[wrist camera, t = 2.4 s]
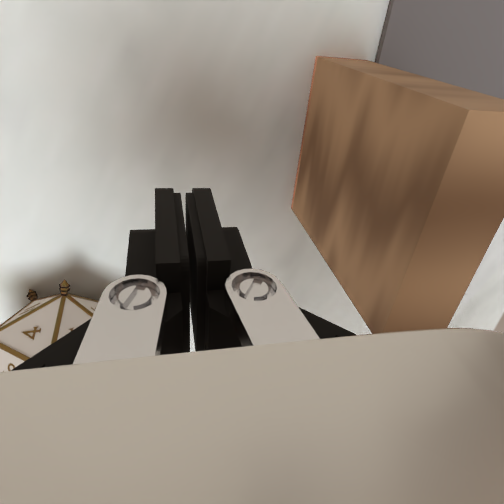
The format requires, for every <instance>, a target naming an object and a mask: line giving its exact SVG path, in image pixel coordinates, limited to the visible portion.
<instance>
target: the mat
mask: <svg viewBox="0 0 504 504" xmlns="http://www.w3.org/2000/svg"><path fill="white" fill-rule="evenodd" d="M375 63H378V64H382V65H385V66H389V67H392V68H396V69H399V70H403V71H406V72H410V73H413V74H417V75H420V76H424V77H427V78H431V79H434V80H437V81H441V82H444V83H448V84H451V85H455V86H458V87H462V88H465V89H469V90H472V91H476V92H479V93H483V94H486V95H490V96H493V97H497V98H500V99H504V0H390V3H389V7H388V11H387V15H386V19H385V24H384V28H383V32H382V36H381V40H380V44H379V48H378V53H377V57H376V61H375Z"/></svg>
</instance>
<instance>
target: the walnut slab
mask: <svg viewBox="0 0 504 504" xmlns="http://www.w3.org/2000/svg"><path fill="white" fill-rule="evenodd" d="M291 209H292V210H293V212H294V213H295V215H296V216H297V218H298V220H299V221H300V223H301V224H302V226H303V227H304V229H305V230H306V232H307V233H308V235H309V237H310V238H311V240H312V241H313V243H314V244H315V246H316V247H317V249H318V250H319V252H320V253H321V255H322V257H323V258H324V260H325V261H326V263H327V264H328V266H329V267H330V269H331V270H332V272H333V274H334V275H335V277H336V278H337V280H338V281H339V283H340V284H341V286H342V287H343V289H344V290H345V292H346V294H347V295H348V297H349V298H350V300H351V301H352V303H353V304H354V306H355V307H356V309H357V311H358V312H359V314H360V315H361V317H362V318H363V320H364V321H365V323H366V324H367V326H368V328H369V329H370V331H371V332H372V334H377V333H387V332H397V331H409V330H425V329H441V328H447V327H448V325H449V323H450V321H451V319H452V317H453V315H454V313H455V311H456V309H457V307H458V305H459V303H460V301H461V300H462V298H463V296H464V294H465V292H466V290H467V288H468V286H469V284H470V282H471V280H472V278H473V276H474V274H475V272H476V270H477V268H478V267H479V265H480V263H481V261H482V259H483V257H484V255H485V253H486V251H487V249H488V247H489V245H490V243H491V241H492V239H493V237H494V235H495V233H496V232H497V230H498V228H499V226H500V224H501V222H502V220H503V218H504V99H500V98H497V97H493V96H490V95H486V94H483V93H479V92H476V91H472V90H469V89H465V88H462V87H458V86H455V85H451V84H448V83H444V82H441V81H437V80H434V79H431V78H427V77H424V76H420V75H417V74H413V73H410V72H406V71H403V70H399V69H396V68H392V67H389V66H385V65H382V64H378V63H375V62H371V61H368V60H358V59H346V58H334V57H322V56H316V58H315V64H314V70H313V76H312V83H311V89H310V95H309V101H308V107H307V113H306V119H305V125H304V132H303V138H302V144H301V150H300V156H299V162H298V168H297V175H296V181H295V187H294V193H293V199H292V205H291Z"/></svg>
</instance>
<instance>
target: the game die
mask: <svg viewBox="0 0 504 504" xmlns="http://www.w3.org/2000/svg"><path fill="white" fill-rule="evenodd" d="M59 286H60V288H59V290H60V292H61V294H57V295H52V296H48V297H44V298H39V299H37V298H38V297H37V294H36V291H32V290H29V292H28V295H27V297H28V299H29V300H31V301H32V302H30V303H29V304H28V305H26V306H25V307H24V308H22V309H21V310H20V311H18V312H17V313H16V314H14V315H13V316H12V317H10V318H9V319H8V320H6V321H5V322H4V323H2V324H1V325H0V372H6V371H11V370H12V369H14V368H15V367H17V366H18V365H20V364H21V363H23V362H24V361H26V360H28V359H29V358H31V357H32V356H34V355H35V354H37V353H38V352H40V351H41V350H43V349H45V348H46V347H48V346H49V345H51V344H52V343H54V342H55V341H57V340H59V339H60V338H62V337H63V336H65V335H66V334H68V333H69V332H71V331H72V330H74V329H76V328H77V327H79V326H80V325H82V324H83V323H85V322H86V321H88V320H89V319H91V318H92V317H93V314H94V312H95V309H96V307H97V305H98V302H99V301H97V300H93V299H89V298H85V297H81V296H77V295H72V294H68V291H69V290H70V289H69V287H70V285H69V284H68V283H67V282H66V280H64V281H63V282H62V283H61V284H59Z"/></svg>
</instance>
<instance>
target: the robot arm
mask: <svg viewBox="0 0 504 504" xmlns="http://www.w3.org/2000/svg"><path fill="white" fill-rule="evenodd" d="M190 308H191V316H192V325H193V333H194V342H195V350H196V352H190ZM0 504H504V333H501V332H496V331H491V330H481V329H471V328H441V329H425V330H409V331H397V332H387V333H377V334H366V335H356V334H354V333H352V332H350V331H348V330H346V329H343V328H341V327H339V326H337V325H335V324H333V323H331V322H329V321H327V320H325V319H322V318H320V317H318V316H316V315H314V314H312V313H310V312H308V311H306V310H303V309H301V308H299V307H298V306H297V305H296V303H295V302H294V300H293V299H292V297H291V296H290V294H289V293H288V291H287V290H286V288H285V287H284V286H283V284H282V283H281V281H280V280H279V279H278V278H277V277H276V276H274V275H273V274H271V273H269V272H267V271H264V270H260V269H252V266H251V263H250V261H249V258H248V255H247V252H246V249H245V247H244V244H243V241H242V238H241V236H240V233H239V230H238V228H237V227H223V228H222V227H221V224H220V220H219V217H218V213H217V210H216V206H215V203H214V200H213V196H212V193H211V189H210V188H193V189H192V193H186V231H185V224H184V216H183V209H182V201H181V194H180V193H174V192H173V188H155V229H150V230H130V235H129V245H128V255H127V265H126V275H125V277H121V278H119V279H117V280H115V281H113V282H112V283H110V284H109V285H108V286H107V287H106V288H105V290H104V291H103V292H102V295H101V297H100V300H99V302H98V305H97V307H96V309H95V312H94V314H93V317H92V318H91V319H89V320H88V321H86V322H85V323H83V324H82V325H80V326H79V327H77V328H76V329H74V330H72V331H71V332H69V333H68V334H66V335H65V336H63V337H62V338H60V339H59V340H57V341H55V342H54V343H52V344H51V345H49V346H48V347H46V348H45V349H43V350H41V351H40V352H38V353H37V354H35V355H34V356H32V357H31V358H29V359H28V360H26V361H24V362H23V363H21V364H20V365H18V366H17V367H15V368H14V369H12V370H11V371H6V372H0Z"/></svg>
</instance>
